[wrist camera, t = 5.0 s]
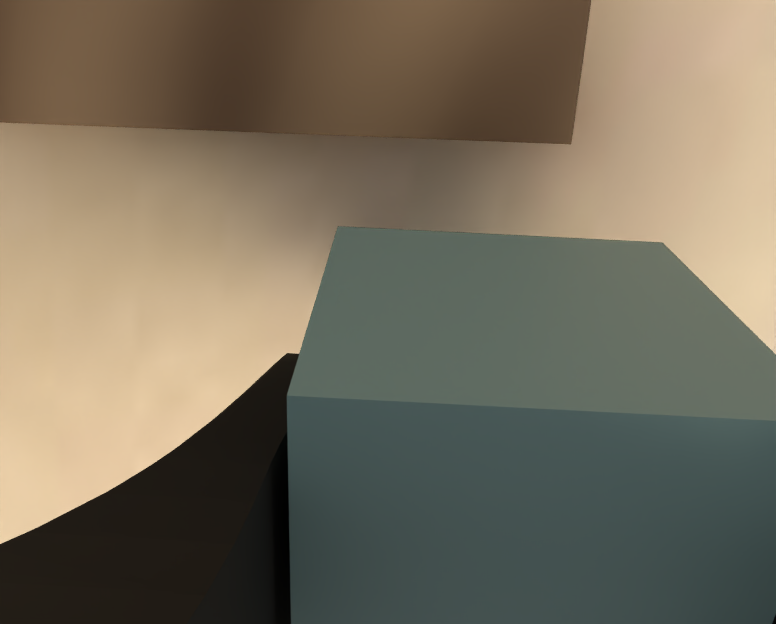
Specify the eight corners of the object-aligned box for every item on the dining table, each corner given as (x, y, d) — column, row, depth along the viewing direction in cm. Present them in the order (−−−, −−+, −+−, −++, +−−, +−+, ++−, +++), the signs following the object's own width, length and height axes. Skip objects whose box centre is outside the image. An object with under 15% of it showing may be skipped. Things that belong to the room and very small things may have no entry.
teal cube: (334, 487, 13) (293, 755, 8) (338, 226, 11) (286, 395, 6) (606, 501, 13) (714, 780, 8) (662, 242, 11) (845, 424, 6)
